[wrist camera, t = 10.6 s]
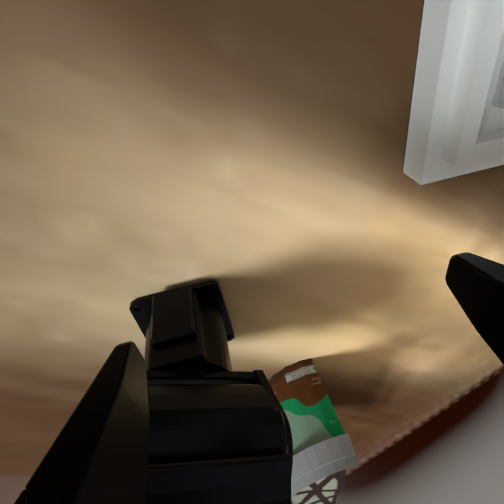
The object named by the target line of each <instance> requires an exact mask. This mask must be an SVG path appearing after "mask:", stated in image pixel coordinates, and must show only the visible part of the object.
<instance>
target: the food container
mask: <svg viewBox="0 0 504 504" xmlns="http://www.w3.org/2000/svg"><path fill="white" fill-rule="evenodd" d="M268 382H269V384H270V386H271V387H272V389H273V391H274V393H275V395H276V397H277V399H278V400H279V402H280V404H281V406H282V408H283V410H284V412H285V414H286V416H287V418H288V421H289V424H290V428H291V433H292V442H293V466H292V476H291V501H292V504H335V503H336V502H335V501H336V498H337V495H338V494H339V493H340V492H341V491H342V489H343V487H344V480H345V473H346V469H348V468H352V467H355V466H359V464H358V461H357V459H356V456H355V451H354V448H353V446H352V443H351V440H350V437H349V434H348V433H347V434H345V432H344V430H343V428H342V426H341V423H340V421H339V419H338V417H337V415H336V412H335V410H334V408H333V406H332V404H331V401H330V399H329V397H328V395H327V392H326V390H325V388H324V386H323V384H322V381H321V379H320V377H319V375H318V373H317V370H316V368H315V366H314V364H313V362H312V359H306V360H302V361H299V362H297V363H294V364H292V365H290V366H287V367H285V368H283V369H282V370H281V371H279V372H278V373H276V374H275V375H273V376H272V377H271V378H270V380H269V381H268Z"/></svg>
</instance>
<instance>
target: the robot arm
mask: <svg viewBox="0 0 504 504" xmlns="http://www.w3.org/2000/svg"><path fill="white" fill-rule="evenodd" d="M445 278H446V283H447V285H448V287H449V289H450V290H451V292H452V293H453V295H454V296H455V298H456V300H457V301H458V303H459V304H460V306H461V307H462V309H463V310H464V312H465V314H466V315H467V317H468V318H469V320H470V321H471V323H472V324H473V326H474V327H475V329H476V330H477V331H478V333H479V334H480V335H481V337H482V338H483V339H484V341H485V342H486V343H487V344H488V346H489V347H490V348H491V349H492V351H493V352H494V353H495V354H496V356H497V357H498V358H499V359H500V361H501V362H502V363H503V364H504V265H503V264H500V263H497V262H494V261H491V260H488V259H485V258H483V257H480V256H477V255H474V254H471V253H467V252H466V253H461V254H457V255H454V256H452V257H451V258H450V261H449V265H448V269H447V273H446V277H445ZM213 286H214V288H210V287H213ZM135 306H139V307H135ZM130 311H131V313H132V315H133V317H134V318H135V320H136V322H137V324H138V326H139V327H140V329H141V331H142V333H143V334H144V336H145V338H146V345H145V360H144V358H143V356H142V355H141V353H140V351H139V350H138V348H137V346H136V345H135V343H134V342H132V341H129V342H126V343H122V344H118V345H117V346H116V347H115V348H114V349H113V351H112V353H111V354H110V356H109V357H108V359H107V360H106V362H105V363H104V365H103V367H102V368H101V370H100V371H99V373H98V374H97V376H96V377H95V379H94V381H93V382H92V384H91V385H90V387H89V388H88V390H87V391H86V393H85V395H84V396H83V398H82V399H81V401H80V402H79V404H78V405H77V407H76V409H75V410H74V412H73V413H72V415H71V416H70V418H69V419H68V421H67V423H66V424H65V426H64V427H63V429H62V430H61V432H60V433H59V435H58V437H57V438H56V440H55V441H54V443H53V444H52V446H51V447H50V449H49V451H48V452H47V454H46V455H45V457H44V458H43V460H42V461H41V463H40V464H39V466H38V468H37V469H36V471H35V472H34V474H33V475H32V477H31V478H30V480H29V482H28V483H27V485H26V489H25V490H23V491H22V492H21V494H20V495H19V497H18V498H17V500H16V502H15V503H14V504H292V501H291V476H292V466H293V442H292V433H291V428H290V424H289V421H288V418H287V416H286V414H285V412H284V410H283V408H282V406H281V404H280V402H279V400H278V399H277V397H276V395H275V393H274V391H273V389H272V387H271V386H270V384H269V382H268V380H267V378H266V376H265V374H264V373H263V371H262V370H254V371H232V366H231V360H230V354H229V349H228V343H227V341H230V340H232V339H233V338H234V332H233V328H232V325H231V322H230V318H229V315H228V312H227V309H226V305H225V302H224V299H223V295H222V292H221V289H220V285H219V283H218V282H217V281H215V280H211V281H207V282H203V283H199V284H195V285H191V286H187V287H184V288H180V289H176V290H172V291H168V292H164V293H160V294H156V295H153V296H149V297H145V298H141V299H137V300H134V301H132V302H131V304H130Z"/></svg>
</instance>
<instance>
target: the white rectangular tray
mask: <svg viewBox="0 0 504 504" xmlns="http://www.w3.org/2000/svg"><path fill="white" fill-rule="evenodd" d="M503 57H504V0H425V1H424V9H423V17H422V25H421V33H420V41H419V49H418V57H417V65H416V73H415V81H414V89H413V97H412V105H411V113H410V121H409V129H408V137H407V145H406V153H405V161H404V169H403V173H404V174H406V175H407V176H409V177H410V178H412V179H413V180H414V181H416V182H417V183H419V184H420V185H424V184H428V183H432V182H436V181H440V180H444V179H448V178H452V177H456V176H460V175H464V174H468V173H472V172H476V171H480V170H484V169H488V168H492V167H496V166H500V165H504V109H502V108H498V107H495V106H492V105H491V103H492V99H493V95H494V91H495V88H496V84H497V80H498V76H499V72H500V69H501V65H502V61H503Z"/></svg>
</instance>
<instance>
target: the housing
mask: <svg viewBox="0 0 504 504" xmlns="http://www.w3.org/2000/svg"><path fill="white" fill-rule="evenodd" d="M491 105H492V106H495V107H498V108H502V109H504V57H503V61H502V65H501V69H500V72H499V76H498V80H497V84H496V88H495V91H494V95H493V99H492V103H491Z"/></svg>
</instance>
